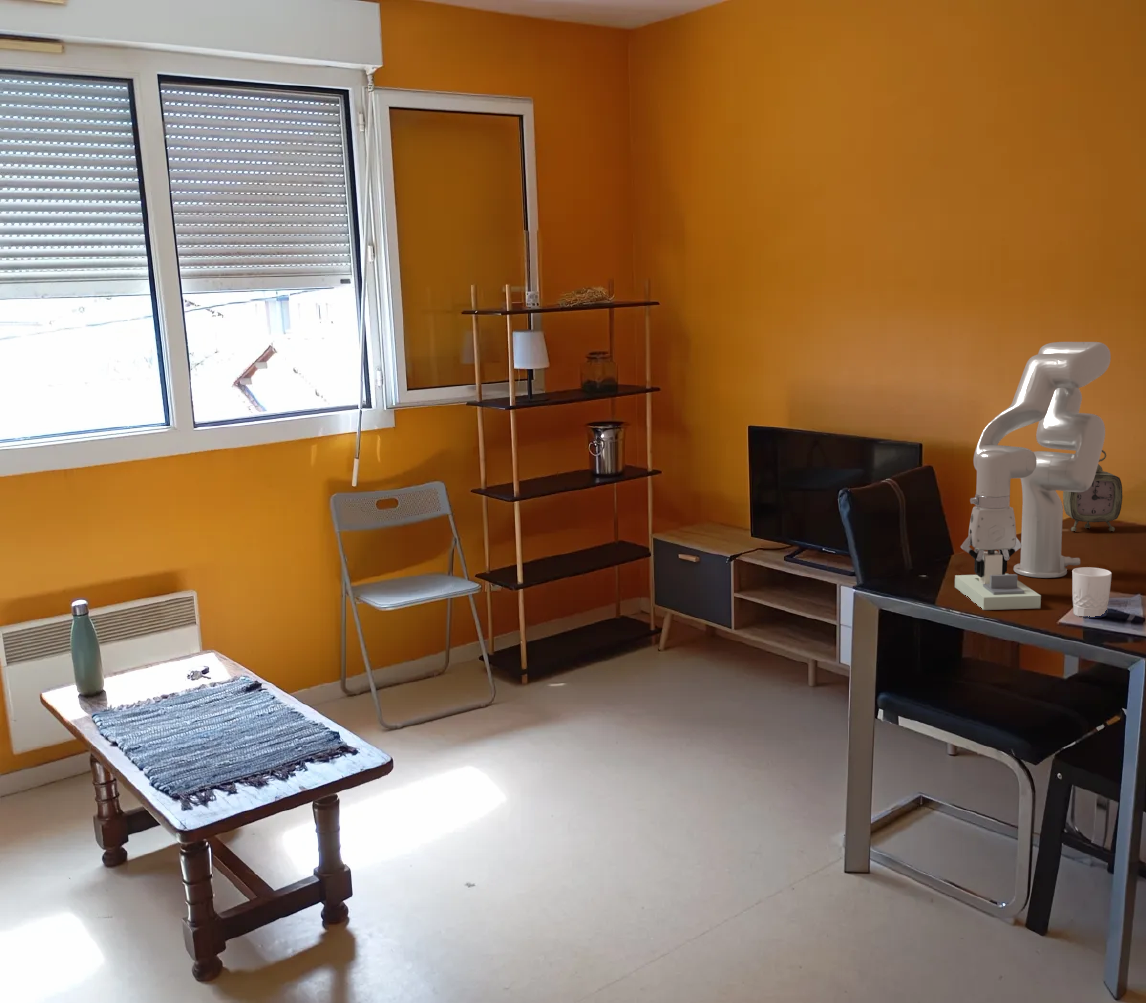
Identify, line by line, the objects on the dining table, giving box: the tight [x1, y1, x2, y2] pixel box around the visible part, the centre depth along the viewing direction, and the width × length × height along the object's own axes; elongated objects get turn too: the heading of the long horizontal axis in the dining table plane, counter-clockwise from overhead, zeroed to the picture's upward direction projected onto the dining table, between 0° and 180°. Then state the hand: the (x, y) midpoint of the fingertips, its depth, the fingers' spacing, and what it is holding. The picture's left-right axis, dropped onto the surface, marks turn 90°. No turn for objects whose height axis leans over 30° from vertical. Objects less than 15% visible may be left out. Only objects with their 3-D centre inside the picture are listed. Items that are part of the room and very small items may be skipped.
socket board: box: [954, 573, 1042, 611], centre depth 250 cm, size 13×20×3 cm, turn 178°
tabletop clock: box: [1062, 449, 1123, 532], centre depth 312 cm, size 14×9×25 cm, turn 80°
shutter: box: [983, 573, 1024, 594], centre depth 245 cm, size 7×7×4 cm
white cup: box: [1071, 566, 1113, 617], centre depth 233 cm, size 8×8×10 cm
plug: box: [979, 550, 1003, 584], centre depth 253 cm, size 4×4×12 cm
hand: (990, 574), depth 253 cm, fingers open, 4 cm apart
